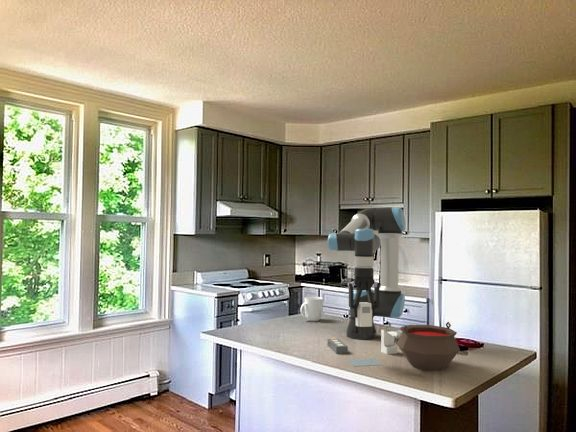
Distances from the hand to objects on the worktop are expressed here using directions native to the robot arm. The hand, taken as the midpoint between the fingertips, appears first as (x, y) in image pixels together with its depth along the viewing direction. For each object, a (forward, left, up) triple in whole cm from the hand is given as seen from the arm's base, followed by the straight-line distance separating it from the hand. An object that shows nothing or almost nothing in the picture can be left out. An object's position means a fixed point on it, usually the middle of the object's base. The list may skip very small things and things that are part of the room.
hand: (363, 325), depth 181 cm
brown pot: (-24, +6, -15) cm, 29 cm away
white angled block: (-16, -13, -15) cm, 26 cm away
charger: (0, 0, 0) cm, 0 cm away
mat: (0, 0, -15) cm, 15 cm away
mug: (0, -88, -15) cm, 89 cm away
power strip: (+5, -24, -15) cm, 28 cm away
